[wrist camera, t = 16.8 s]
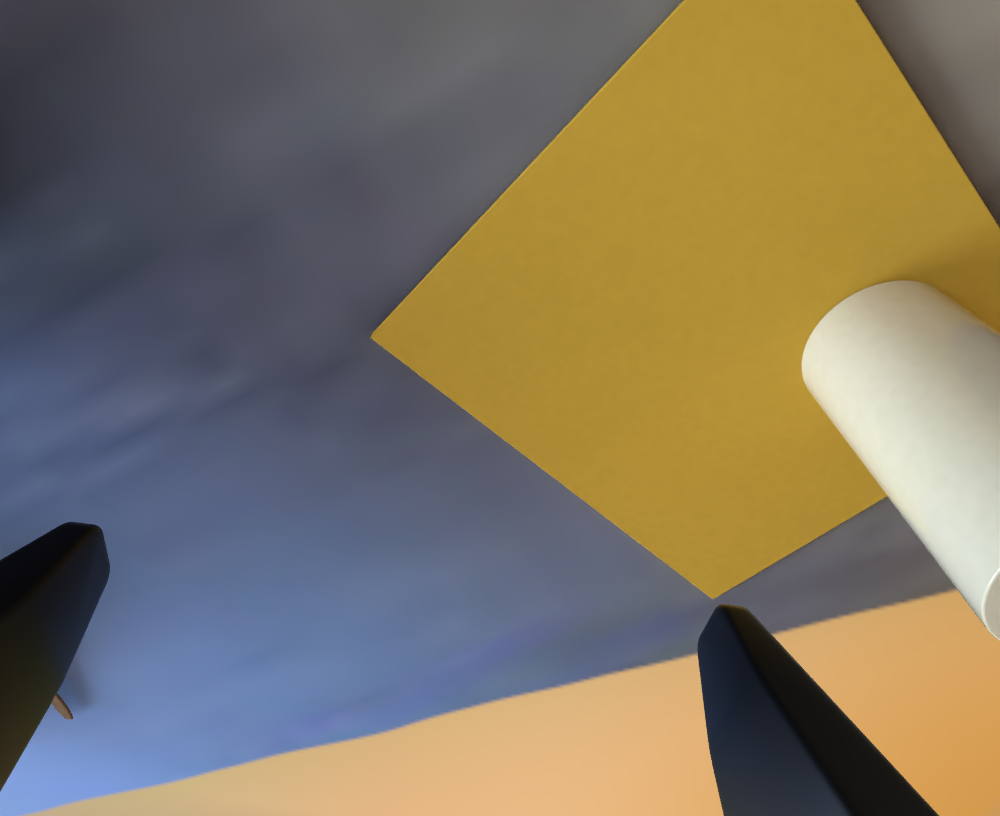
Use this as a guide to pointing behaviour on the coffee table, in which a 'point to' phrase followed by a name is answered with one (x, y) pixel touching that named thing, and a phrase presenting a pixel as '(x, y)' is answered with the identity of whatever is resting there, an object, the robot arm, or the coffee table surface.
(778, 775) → the robot arm
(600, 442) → the cloth
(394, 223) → the coffee table surface
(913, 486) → the bottle
